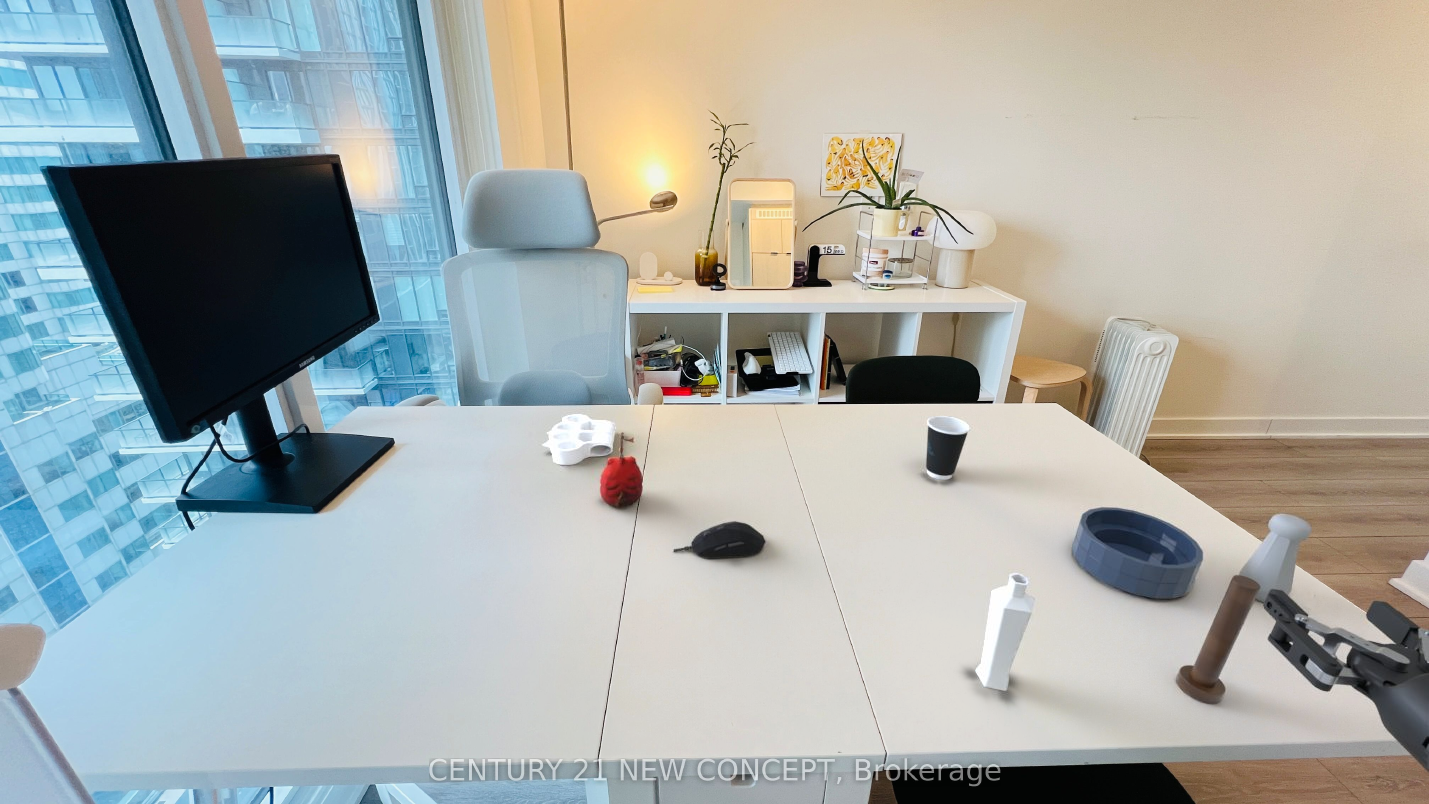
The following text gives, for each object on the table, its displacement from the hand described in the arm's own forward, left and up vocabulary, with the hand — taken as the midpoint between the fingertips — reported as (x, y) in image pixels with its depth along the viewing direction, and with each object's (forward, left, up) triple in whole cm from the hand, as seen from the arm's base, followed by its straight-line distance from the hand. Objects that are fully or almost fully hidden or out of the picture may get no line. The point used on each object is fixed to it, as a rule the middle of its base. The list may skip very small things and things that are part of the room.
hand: (1321, 602), depth 56 cm
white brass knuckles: (+111, -3, -21) cm, 113 cm away
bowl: (+13, -29, -21) cm, 38 cm away
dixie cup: (+46, -40, -21) cm, 65 cm away
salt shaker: (-3, -34, -21) cm, 40 cm away
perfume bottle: (+24, +7, -21) cm, 32 cm away
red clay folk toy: (+88, +7, -21) cm, 91 cm away
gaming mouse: (+66, +7, -21) cm, 69 cm away
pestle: (+4, -7, -21) cm, 22 cm away
